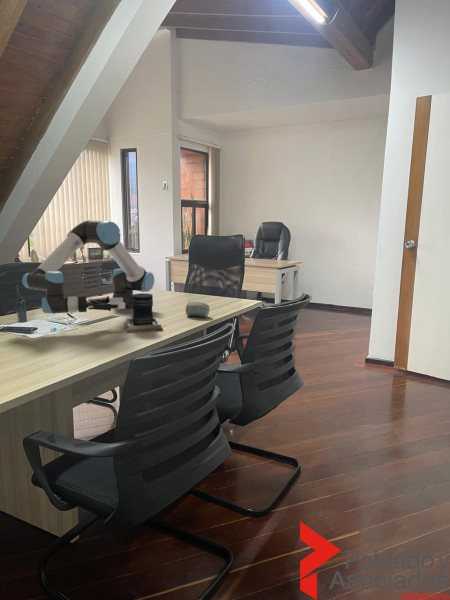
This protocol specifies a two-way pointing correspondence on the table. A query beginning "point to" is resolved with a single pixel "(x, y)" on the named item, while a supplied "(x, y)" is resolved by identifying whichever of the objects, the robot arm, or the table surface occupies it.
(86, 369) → the table surface
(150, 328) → the cradle plate
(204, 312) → the spool
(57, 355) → the table surface
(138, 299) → the rusty blue barrel
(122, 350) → the table surface
